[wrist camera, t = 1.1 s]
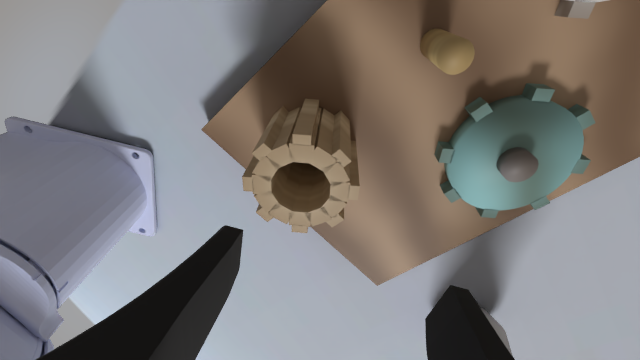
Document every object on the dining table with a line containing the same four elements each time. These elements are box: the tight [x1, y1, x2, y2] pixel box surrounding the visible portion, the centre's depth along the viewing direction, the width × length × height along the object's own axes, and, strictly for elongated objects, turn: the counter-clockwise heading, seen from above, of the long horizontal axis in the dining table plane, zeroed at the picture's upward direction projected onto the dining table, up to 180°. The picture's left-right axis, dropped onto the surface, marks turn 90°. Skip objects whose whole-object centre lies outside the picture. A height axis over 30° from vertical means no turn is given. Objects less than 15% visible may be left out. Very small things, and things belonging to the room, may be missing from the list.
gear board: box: [201, 0, 640, 286], centre depth 16 cm, size 26×18×5 cm
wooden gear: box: [242, 99, 360, 233], centre depth 16 cm, size 6×6×5 cm
